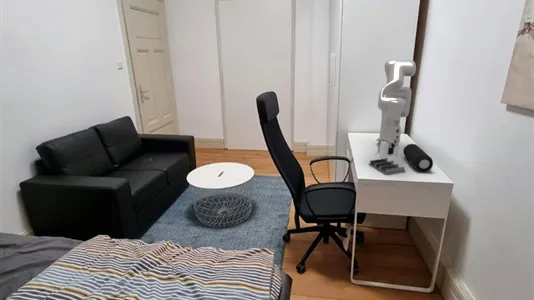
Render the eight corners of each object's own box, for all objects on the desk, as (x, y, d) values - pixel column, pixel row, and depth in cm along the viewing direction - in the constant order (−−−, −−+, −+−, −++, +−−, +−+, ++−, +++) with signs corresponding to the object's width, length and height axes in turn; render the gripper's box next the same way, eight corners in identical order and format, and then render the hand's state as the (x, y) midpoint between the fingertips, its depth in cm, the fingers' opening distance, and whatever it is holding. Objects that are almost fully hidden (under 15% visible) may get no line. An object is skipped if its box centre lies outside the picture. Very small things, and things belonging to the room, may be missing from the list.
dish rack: (368, 164, 177) (369, 160, 176) (386, 162, 181) (387, 157, 180) (385, 175, 163) (386, 170, 162) (405, 172, 167) (405, 167, 166)
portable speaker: (432, 173, 165) (436, 157, 161) (414, 172, 166) (417, 156, 163) (417, 157, 189) (419, 142, 185) (401, 157, 190) (403, 142, 187)
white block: (393, 154, 172) (395, 140, 169) (396, 156, 169) (399, 141, 166) (378, 156, 169) (380, 141, 166) (382, 158, 166) (384, 143, 164)
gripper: (408, 124, 156) (403, 157, 162) (388, 118, 171) (384, 148, 177) (397, 126, 154) (392, 158, 160) (377, 119, 169) (373, 149, 175)
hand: (388, 152), depth 169 cm, fingers closed on white block, 3 cm apart
